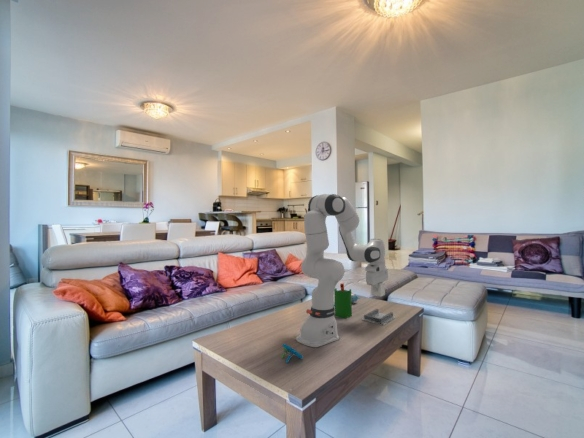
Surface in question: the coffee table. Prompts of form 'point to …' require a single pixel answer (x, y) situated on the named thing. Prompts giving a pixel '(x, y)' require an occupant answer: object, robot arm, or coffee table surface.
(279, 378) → the coffee table surface
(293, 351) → the blue green branched frame
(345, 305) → the motor
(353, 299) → the owl figurine
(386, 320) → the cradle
